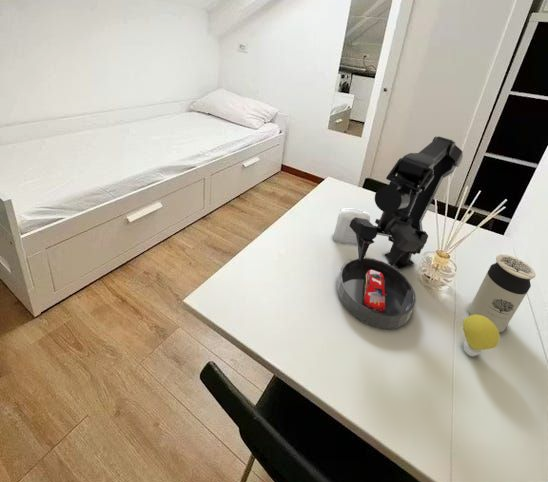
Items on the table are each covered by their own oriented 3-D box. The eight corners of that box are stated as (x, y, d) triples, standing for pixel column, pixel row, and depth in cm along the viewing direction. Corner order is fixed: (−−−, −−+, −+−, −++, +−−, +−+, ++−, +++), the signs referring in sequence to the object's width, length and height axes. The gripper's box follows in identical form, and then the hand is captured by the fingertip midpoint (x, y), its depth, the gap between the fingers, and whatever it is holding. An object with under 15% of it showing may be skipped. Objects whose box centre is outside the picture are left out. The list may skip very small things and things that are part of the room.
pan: (375, 262, 90) (378, 251, 89) (427, 314, 75) (432, 302, 73) (323, 278, 82) (326, 266, 81) (369, 340, 67) (374, 327, 65)
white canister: (470, 300, 81) (496, 248, 73) (505, 318, 76) (536, 265, 69) (466, 318, 75) (494, 265, 68) (503, 339, 70) (537, 284, 63)
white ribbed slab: (362, 238, 101) (370, 208, 96) (364, 246, 97) (373, 215, 92) (332, 234, 101) (339, 203, 96) (333, 242, 97) (340, 211, 93)
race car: (383, 319, 72) (387, 307, 70) (361, 311, 73) (364, 299, 72) (384, 280, 83) (387, 270, 82) (364, 274, 85) (367, 263, 83)
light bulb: (487, 373, 62) (506, 342, 59) (452, 354, 66) (468, 324, 62) (485, 348, 68) (503, 318, 64) (453, 331, 71) (468, 302, 67)
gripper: (385, 215, 61) (359, 279, 64) (453, 230, 66) (426, 288, 69) (359, 194, 71) (338, 250, 74) (420, 208, 76) (397, 260, 79)
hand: (375, 262), depth 74 cm, fingers open, 9 cm apart
